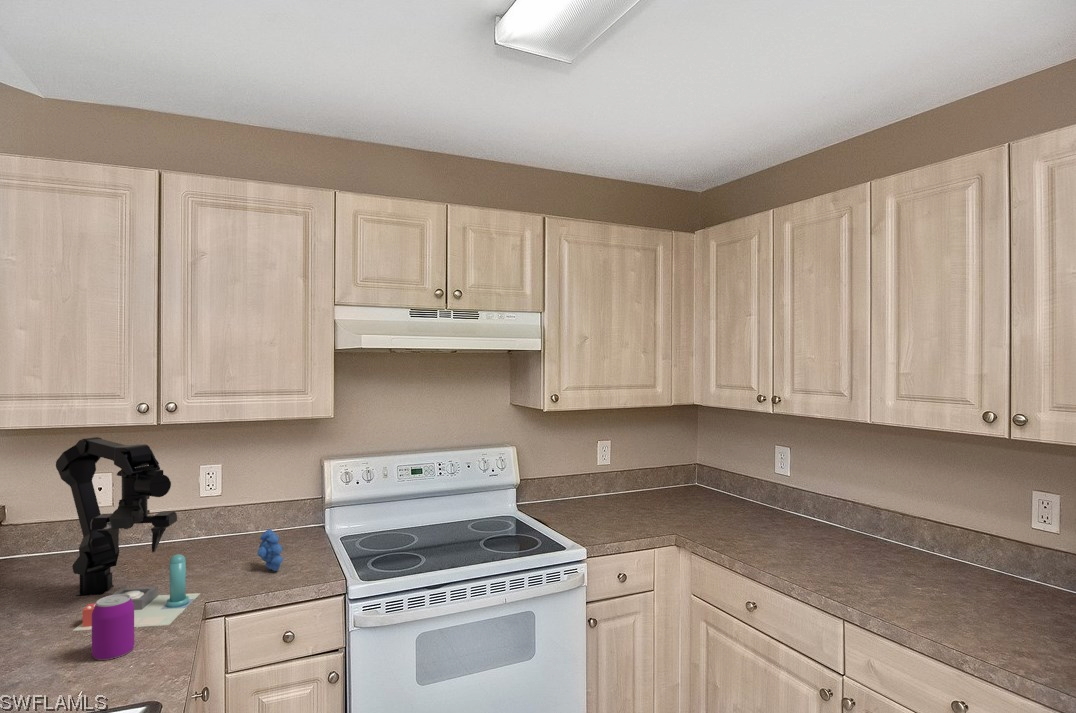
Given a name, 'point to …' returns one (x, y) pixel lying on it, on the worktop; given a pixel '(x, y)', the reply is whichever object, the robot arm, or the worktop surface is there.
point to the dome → (134, 594)
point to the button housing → (145, 599)
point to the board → (154, 613)
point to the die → (88, 615)
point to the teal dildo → (177, 582)
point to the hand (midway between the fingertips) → (134, 552)
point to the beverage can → (112, 627)
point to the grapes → (270, 550)
